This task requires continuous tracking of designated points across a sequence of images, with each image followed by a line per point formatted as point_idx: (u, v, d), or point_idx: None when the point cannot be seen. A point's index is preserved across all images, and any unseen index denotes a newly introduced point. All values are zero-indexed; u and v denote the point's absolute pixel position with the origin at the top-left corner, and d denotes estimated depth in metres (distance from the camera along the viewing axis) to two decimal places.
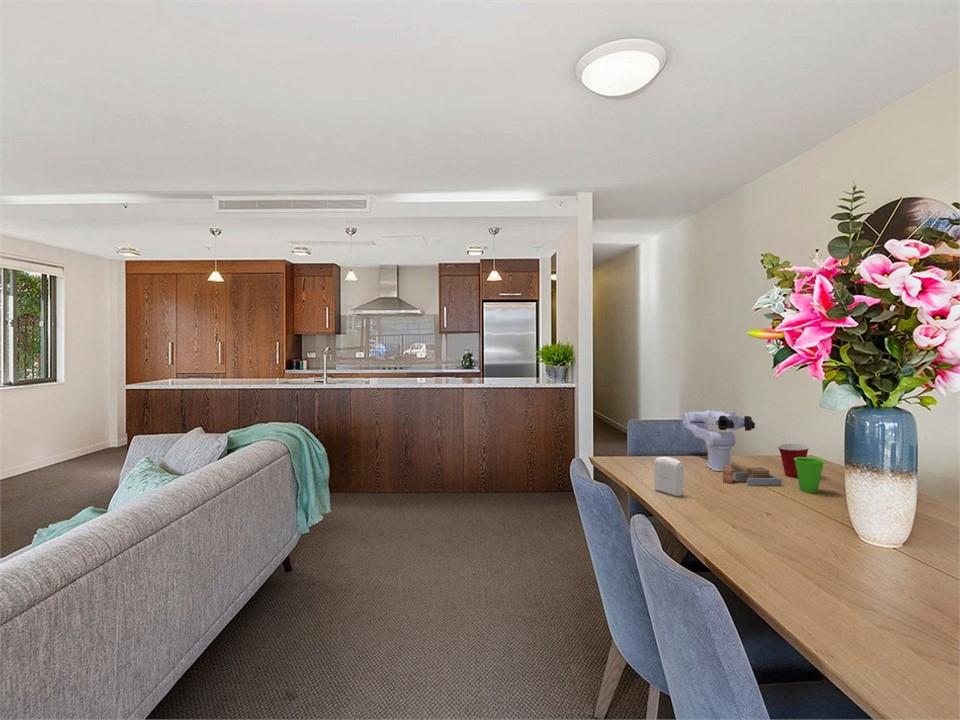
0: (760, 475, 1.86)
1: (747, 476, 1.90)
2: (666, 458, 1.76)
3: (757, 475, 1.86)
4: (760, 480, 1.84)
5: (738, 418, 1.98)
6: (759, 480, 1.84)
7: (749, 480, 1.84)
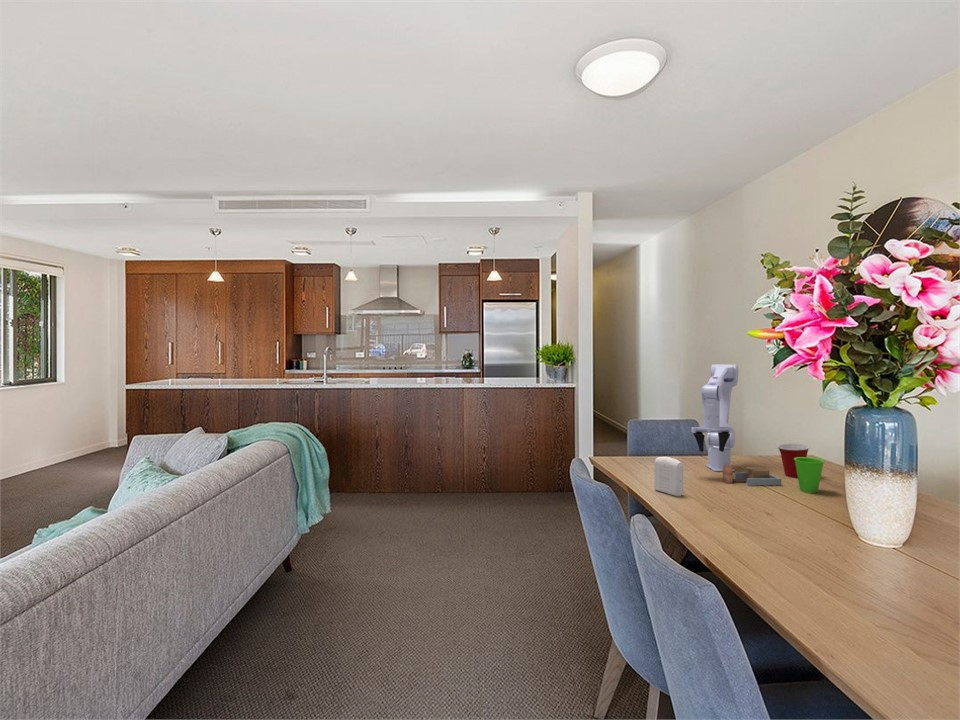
0: (760, 475, 1.86)
1: (747, 476, 1.90)
2: (666, 458, 1.76)
3: (757, 475, 1.86)
4: (760, 480, 1.84)
5: None
6: (759, 480, 1.84)
7: (749, 480, 1.84)
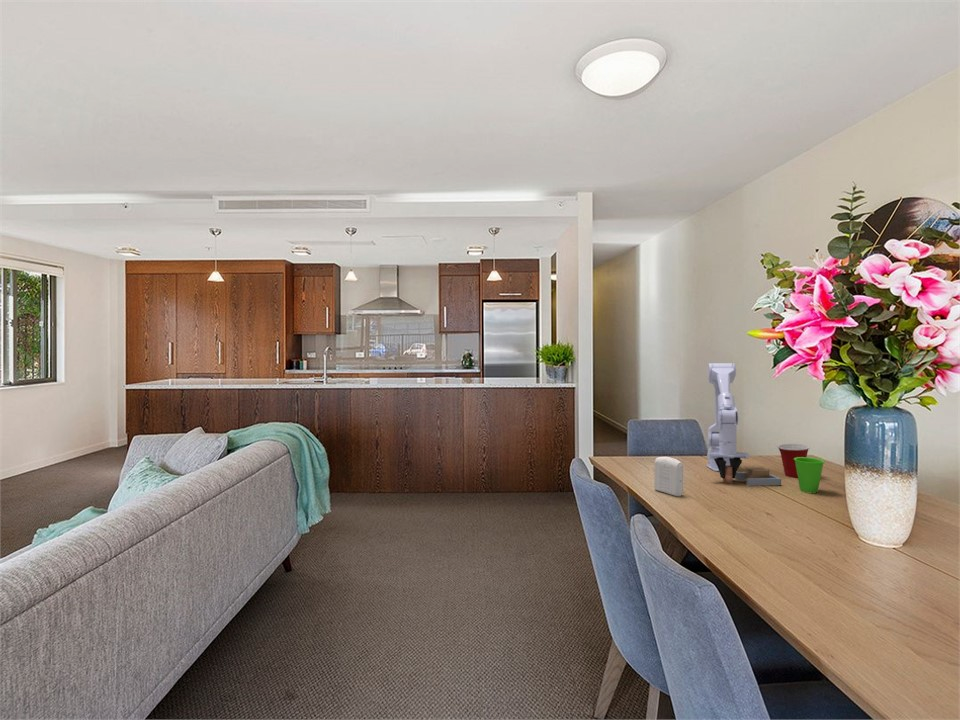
0: (760, 475, 1.86)
1: (747, 476, 1.90)
2: (666, 458, 1.76)
3: (757, 475, 1.86)
4: (760, 480, 1.84)
5: None
6: (759, 480, 1.84)
7: (749, 480, 1.84)
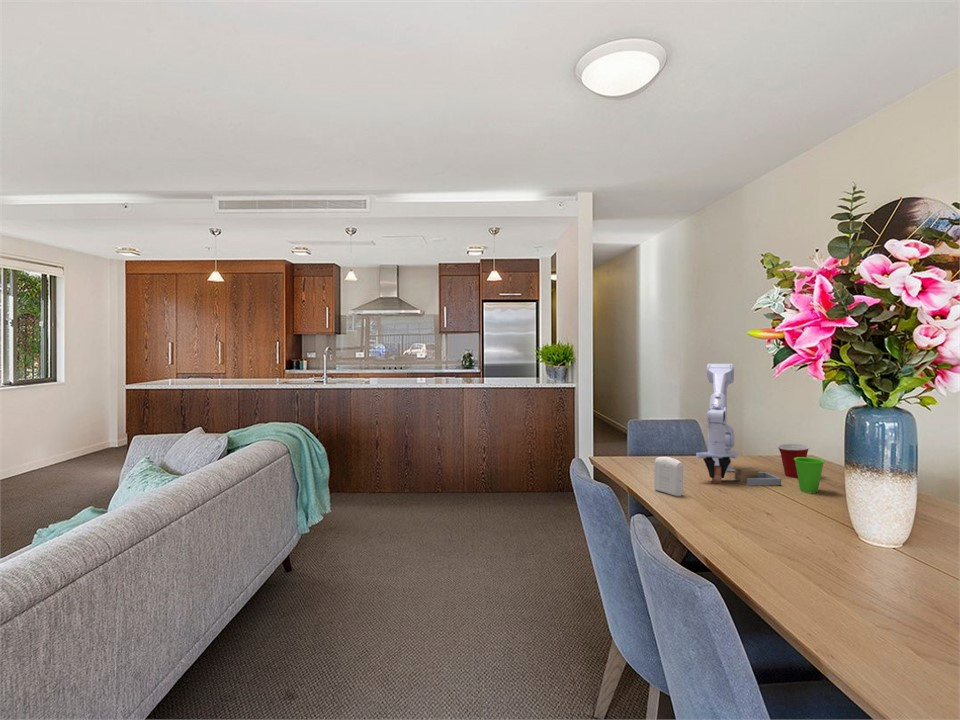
0: (749, 475, 1.86)
1: (736, 476, 1.90)
2: (666, 458, 1.76)
3: (746, 475, 1.87)
4: (760, 480, 1.84)
5: None
6: (759, 480, 1.84)
7: (749, 480, 1.84)
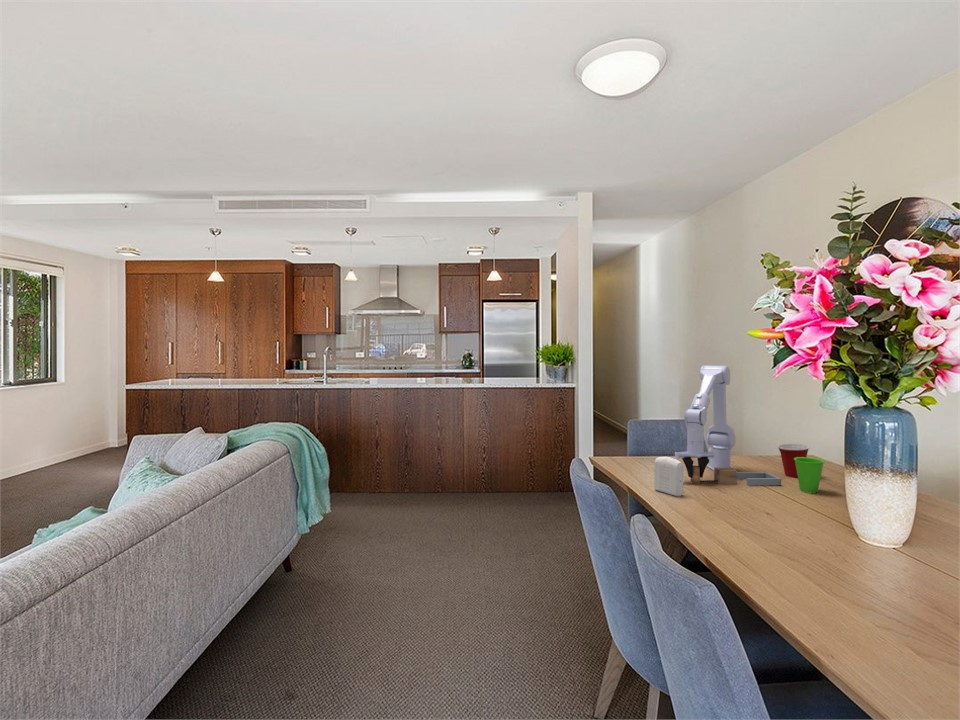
0: (727, 475, 1.87)
1: (715, 476, 1.91)
2: (666, 458, 1.76)
3: (724, 475, 1.87)
4: (760, 480, 1.84)
5: None
6: (759, 480, 1.84)
7: (749, 480, 1.84)
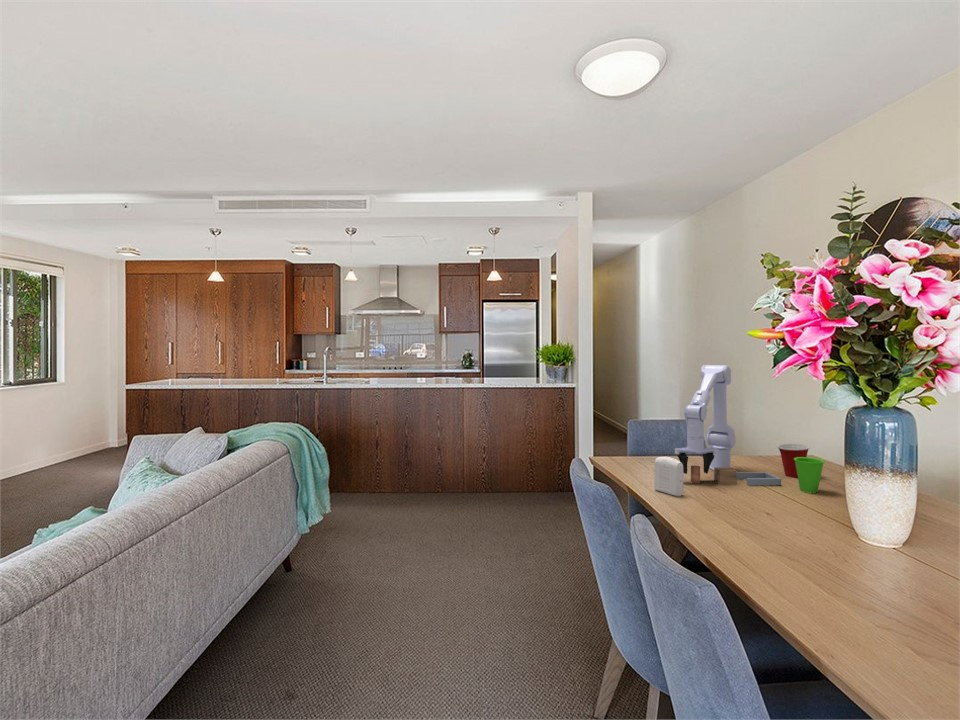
0: (727, 475, 1.87)
1: (715, 476, 1.91)
2: (666, 458, 1.76)
3: (724, 475, 1.87)
4: (760, 480, 1.84)
5: None
6: (759, 480, 1.84)
7: (749, 480, 1.84)
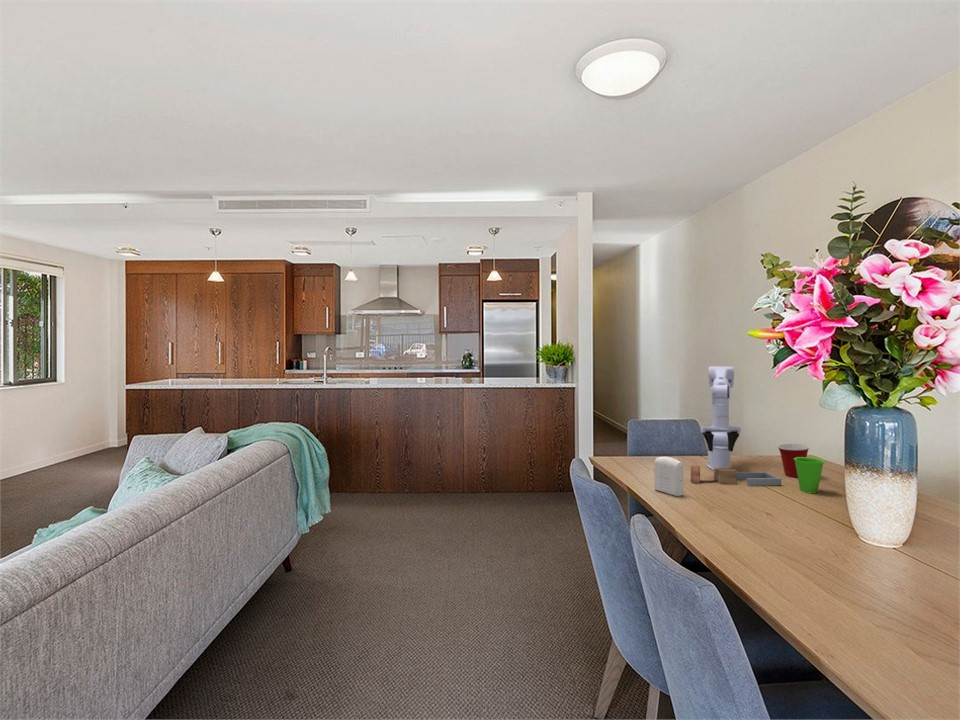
0: (727, 475, 1.87)
1: (715, 476, 1.91)
2: (666, 458, 1.76)
3: (724, 475, 1.87)
4: (760, 480, 1.84)
5: (727, 430, 1.94)
6: (759, 480, 1.84)
7: (749, 480, 1.84)
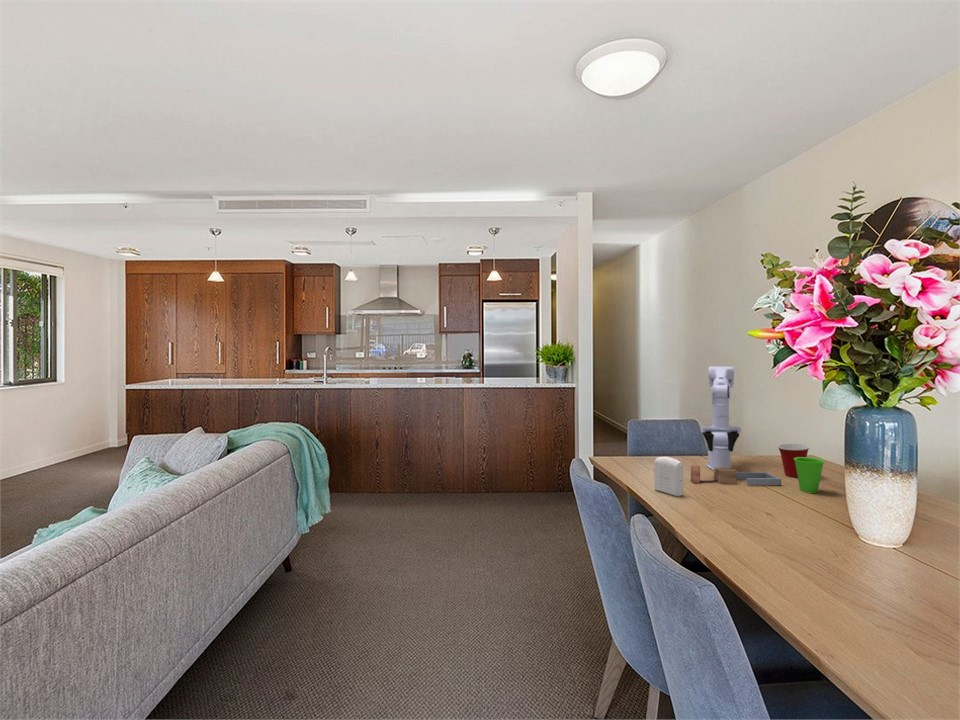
0: (727, 475, 1.87)
1: (715, 476, 1.91)
2: (666, 458, 1.76)
3: (724, 475, 1.87)
4: (760, 480, 1.84)
5: (727, 429, 1.94)
6: (759, 480, 1.84)
7: (749, 480, 1.84)
